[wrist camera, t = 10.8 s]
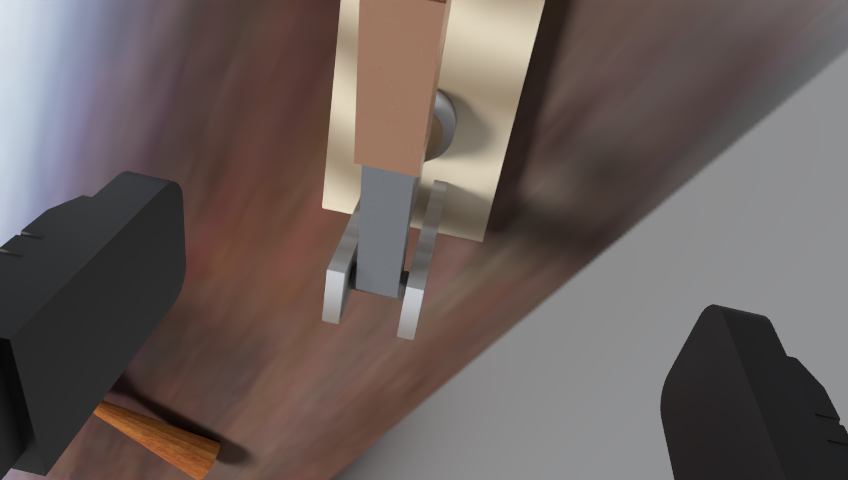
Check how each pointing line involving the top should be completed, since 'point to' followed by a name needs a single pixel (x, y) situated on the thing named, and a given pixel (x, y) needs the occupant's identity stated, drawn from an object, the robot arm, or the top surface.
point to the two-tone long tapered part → (163, 439)
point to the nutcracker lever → (393, 130)
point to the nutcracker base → (476, 95)
